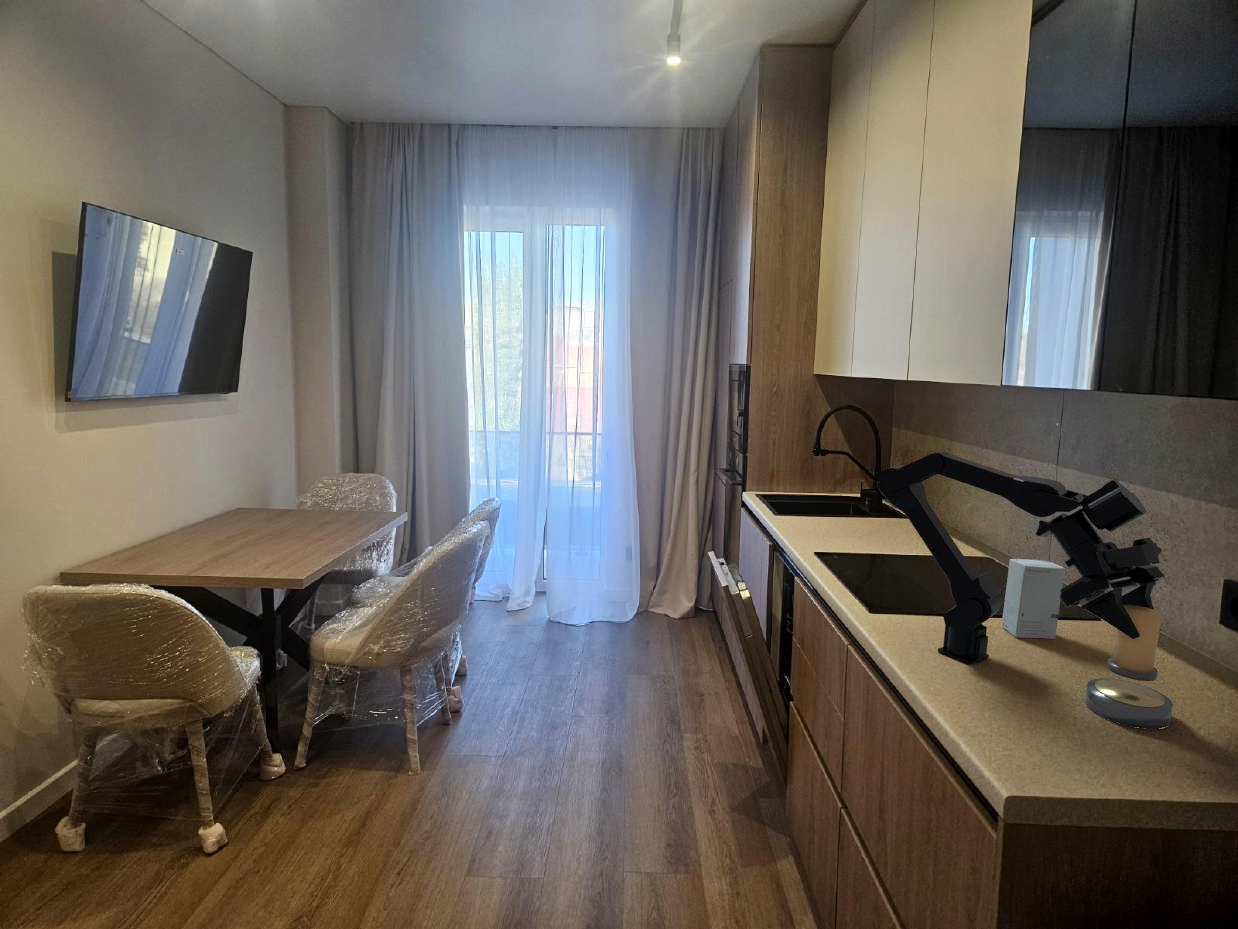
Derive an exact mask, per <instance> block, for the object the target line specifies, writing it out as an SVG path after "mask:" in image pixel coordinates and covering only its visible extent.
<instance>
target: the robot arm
mask: <svg viewBox="0 0 1238 929" xmlns="http://www.w3.org/2000/svg"><path fill="white" fill-rule="evenodd" d="M936 475H940V476H943V477H944V478H945V477H946V478H949V479H952V480H954V481H957V482H960V483H963V484H966V485H969V486H971V487H974V488H977V489H980V490H983V491H985V492H988V493H992V494H994V495H998V496H999V497H1002V498H1004V499H1006V500H1007V501H1008V502H1010V503H1011V504H1012V505H1013V506H1015V507H1017V508H1018V509H1020V510H1022V511H1024V512H1026V513H1028V514H1030V515H1032V516H1033V517H1034V516H1035V517H1037V518H1046V517H1047V518H1048V517H1050V516H1053V515H1055V514H1056V513H1061V514H1059V515H1058V516H1056V517H1054V518H1052V519H1051V520H1049V521H1047V520H1041V519H1040V520H1039V521H1038V528H1037V530H1036V532H1035V535H1036V536H1037V537H1045V538H1047V537H1050V536H1051V535H1052V536H1053V537H1054V539H1055V540H1056V542H1057V544H1058V545H1059V546H1060V547H1061V549H1062V550H1063V552H1064V553H1065V555H1066V556H1067V558H1068V560H1065V561H1064V563H1065V564H1066V566H1067V567H1068V568H1072V567H1073V568H1075V569H1076V570H1077V572H1078V573H1079V575H1080V576H1081V577H1080V578H1078V579H1076V580H1075V581H1072V582H1071V583H1069V584H1068V585H1066V586H1064V587H1062V589H1061V590H1060V599H1061V600H1060V601H1061V602H1062V603H1063V605H1064V606H1065V608H1071V607H1076V606H1078V605H1080V602H1081V601H1082V600H1084V601H1085V602H1086V603H1084V604H1083V605H1081V606H1080V609H1081V610H1083V611H1084V610H1085V611H1087V612H1089V613H1090V614H1093V615H1094V616H1096V617H1097V618H1099V619H1101V620H1103V621H1104V622H1106V623H1107V624H1109V625H1111V626H1112V627H1114V628H1115V629H1116V630H1117V629H1118V630H1120V631H1121V632H1123V633H1124V634H1126V635H1128V636H1129V637H1131V638H1132V639H1136V638H1138V637H1139V636H1140V634H1139V632H1138V630H1137V628H1136V626H1135V625H1134V623H1133V621H1132V620H1131V618H1130V616H1129V614H1128V613H1127V611H1126V609H1125V608H1124V606H1123V605H1136V606H1142V607H1146V608H1150V609H1153V610H1155V609H1154V606H1153V601H1152V595H1151V594H1152V591H1153V588H1154V587H1155V586H1156V584H1157V582H1158V581H1160V580H1162V579H1164V578H1165V577H1166V576H1165V575H1164V573H1163V572H1162V571H1161V569H1160V568H1159V567H1158V566H1157V564H1160V563H1161V561H1160V557H1159V555H1160V554H1161V553H1162V548H1161V547H1159V546H1158V544H1157V542H1154V540H1152V539H1151V537H1144V538H1139V539H1133V542H1132V546H1127V547H1121V548H1118V546H1117V545H1116V544H1115V542H1111V541H1109V542H1108V541H1107V542H1105V541H1104V539H1103V538H1102V537H1101V535H1100V534H1099V533H1098V532H1097V530H1100V531H1104V530H1107V531H1108V532H1114V531H1116V530H1118V529H1120V528H1122V527H1123V526H1125V525H1127V524H1129V523H1131V522H1133V521H1135V520H1136V519H1138V518H1140V517H1142V516H1144V515H1146V514H1147V509H1146V507H1145V506H1144V503H1142V501H1141V500H1140V499H1139V498H1138V497H1137V495H1136V494H1135V493H1134V492H1131V491H1130V490H1129V489H1128V488H1127V487H1125V485H1122V484H1121V483H1120V482H1119V480H1117V478H1116V479H1115V478H1113V479H1111V480H1110V481H1109V482H1107V483H1105V484H1104V485H1102V486H1101V488H1099V489H1096V490H1095V491H1093V492H1092V493H1090V494H1088V495H1086V494H1084V493H1081V492H1077V491H1074V490H1070V489H1066V487H1065V485H1064V484H1062V482H1060V481H1057V480H1055V479H1048V478H1042V477H1037V476H1028V475H1018V474H1017V475H1016V474H1012V473H1010V472H1006V471H1003V470H1001V469H997V468H994V467H991V466H987V465H985V464H982V463H979V462H974V461H972V460H968V459H965V458H962V457H959V456H958V455H954V454H951V453H949V452H948V451H945V450H937V451H934V452H930V453H929V454H927V455H926V456H923V457H921V458H920V459H917V460H915V461H912V462H910V463H908V464H901V465H896V466H893V467H888V468H886V469H885V468H884V470H882V471H881V472H880V473H879V475H878V477H877V482H876V485H877V486H876V487H877V489H878V490H879V492H880V493H881V494H882V496H884V497H885V499H886V500H887V501H888V502H889V503H890V504H891V506H894V507H896V508H897V509H898V510H899V511H900V512H902V513H903V514H904V515H905V516H906V517H907V518H908V521H909V522H910V523H911V525H912V526H913V528H914V530H915V531H916V533H917V534H918V536H919V537H920V539H921V540H922V541H923V543H924V544H925V546H926V548H927V549H928V550H929V552H930V555H932V557H933V558H934V560H935V562H936V563H937V565H938V566H939V567H940V569H941V570H942V572H943V573H944V575H945V577H946V578H947V580H948V583H949V588H950V593H951V597H952V599H953V601H954V604H955V605H954V606H953V607H952V608H951V609H948V610H947V611H946V612H944V613H943V614H942V617H943V621H944V624H945V625H944V634H943V635H944V636H943V644H942V646H941V647H939V648H937V652H938V653H941V654H943V655H945V656H948V657H950V658H952V659H955V660H957V661H961V662H963V663H965V664H968V665H969V664H972V663H976V662H979V661H981V660H984V659H988V658H989V656H990V655H989V654H988V653H987V650H988V643H989V636H988V635H987V630H988V629H987V628H988V627H987V626H986V625H983V623H985V622H986V621H988V620H989V619H991V618H992V617H993V616H994V615H995V614H997V613H999V611H1000V609H1001V607H1002V606H1003V605H1002V604H1003V597H1002V595H1001V593H1000V592H1001V591H1002V590H1003V589H1002V588H1000V587H999V586H998V585H997V584H996V583H995V581H994V579H993V577H992V575H991V573H990V572H989V571H988V570H987V571H985V572H984V573H982V574H981V573H980V572H979V571H977V570H975V569H974V568H973V567H972V566H971V565H970V563H969V562H968V560H967V559H966V558H965V557H966V556H964V554H963V553H962V552H961V550H960V548H959V547H958V545H957V543H956V542H955V541H954V540H953V538H952V536H951V535H950V534H949V531H947V529H946V528H945V526H944V524H943V523H942V522H941V520H940V518H939V517H938V516H937V514H936V513H935V511H934V510H933V508H932V507H931V505H930V504H929V502H928V498H927V494H926V489H925V485H924V483H923V482H924V481H926V480H928V479H930V478H933V477H934V476H936ZM1079 507H1081V508H1079ZM1077 508H1079V509H1078V510H1077V511H1075V512H1073V513H1071V514H1067V513H1070V512H1072V511H1074V510H1075V509H1077ZM1094 527H1095V528H1096V529H1097V530H1096V529H1095V528H1094ZM1161 631H1162V629H1161V628H1160V630H1159V633H1160V632H1161Z"/></svg>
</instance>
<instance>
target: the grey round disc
mask: <svg viewBox="0 0 1238 929" xmlns="http://www.w3.org/2000/svg"><path fill="white" fill-rule="evenodd" d="M1085 693H1086V694H1085V700H1084V704H1085V705H1087V706H1086V707H1087V708H1088V709H1089V710H1090V711H1091V712H1092V713H1094V712H1095V713H1096V715H1097V714H1098V715H1097V716H1099V715H1100V716H1099V717H1101V716H1102V717H1101V718H1102V719H1103V718H1104V719H1105V720H1107V719H1109V720H1110V721H1109V720H1108V721H1109V722H1112V721H1113V723H1115V722H1118V723H1120V724H1119V725H1121V724H1122V726H1124V725H1125V727H1128V726H1132V727H1131V728H1133V727H1139V728H1146V729H1159V728H1162V727H1166V726H1168V725H1169V724H1170V725H1171V719H1172V713H1173V712H1172V711H1173V705H1174V703H1173V702H1172V700H1171V699H1170V698H1169V697H1168V696H1167V695H1165V694H1163V693H1162V692H1159V691H1158V690H1156V689H1155V688H1151V687H1148V686H1146V685H1143V684H1141V683H1136V682H1132V681H1128V680H1125V679H1124V680H1123V679H1117V678H1109V677H1107V678H1106V677H1102V678H1101V677H1100V678H1094V679H1091V680H1089V681H1088V682H1087V685H1086V692H1085ZM1095 713H1094V714H1095ZM1118 723H1117V724H1118ZM1170 725H1169V726H1170ZM1169 726H1168V727H1169Z"/></svg>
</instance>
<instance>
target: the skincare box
mask: <svg viewBox="0 0 1238 929" xmlns="http://www.w3.org/2000/svg"><path fill="white" fill-rule="evenodd" d="M1065 571H1066V568H1065V567H1063V566H1062V565H1059V564H1057V563H1055V562H1052V561H1049V560H1040V559H1038V560H1037V559H1029V558H1028V559H1023V558H1022V559H1021V558H1009V564H1008V572H1007V580H1006V587H1005V588H1006V589H1005V594H1004V595H1005V597H1004V604H1003V611H1002V618H1001V619H1002V620H1001V627H1002V629H1004V630H1005V631H1006V632H1008V633H1009V635H1012V636H1013V637H1014V638H1019V639H1023V638H1024V639H1049V640H1054V639H1056V635H1057V629H1058V622H1059V616H1060V615H1059V614H1060V608H1061V601H1062V600H1061V599H1060V590H1061V589H1062V588H1063V585H1064V579H1065Z"/></svg>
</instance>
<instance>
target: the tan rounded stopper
mask: <svg viewBox="0 0 1238 929" xmlns="http://www.w3.org/2000/svg"><path fill="white" fill-rule="evenodd" d="M1123 606H1124V608H1125V609H1126V611H1127V613H1128V614H1129V616H1130V618H1131V620H1132V621H1133V623H1134V625H1135V626H1136V628H1137V630H1138V632H1139V634H1140V636H1139V637H1138V638H1136V639H1132V638H1131V637H1129V636H1128V635H1126V634H1124V633H1123V632H1121V631H1120V630H1118V629H1117V628H1116V634H1115V641H1114V648H1113V654H1112V655H1113V656H1112V657H1109V658H1108V659H1107V665H1106V667H1107V669H1108V670H1109V671H1111V672H1112V673H1114V674H1116V675H1117V676H1121V677H1123V678H1127V679H1129V680H1130V679H1131V680H1134V681H1138V682H1139V681H1140V682H1153V681H1155V680H1157V679H1158V673H1159V671H1158V669H1157V668H1156V667H1155V661H1156V653H1157V648H1158V642H1159V636H1160V632H1159V630H1160V629H1161V622H1162V615H1163V614H1162V613H1161V612H1160V611H1158V610H1156V609H1154V610H1153V609H1150V608H1146V607H1142V606H1136V605H1123Z"/></svg>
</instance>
